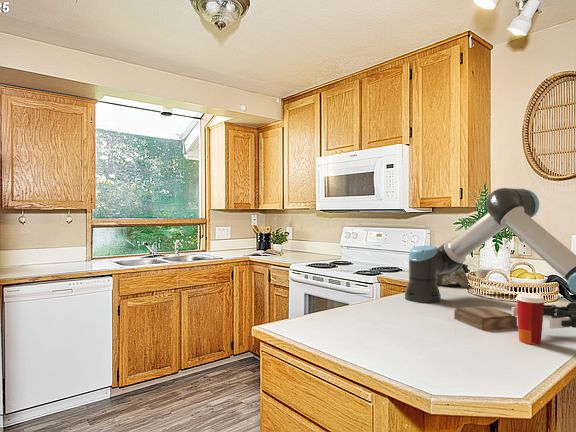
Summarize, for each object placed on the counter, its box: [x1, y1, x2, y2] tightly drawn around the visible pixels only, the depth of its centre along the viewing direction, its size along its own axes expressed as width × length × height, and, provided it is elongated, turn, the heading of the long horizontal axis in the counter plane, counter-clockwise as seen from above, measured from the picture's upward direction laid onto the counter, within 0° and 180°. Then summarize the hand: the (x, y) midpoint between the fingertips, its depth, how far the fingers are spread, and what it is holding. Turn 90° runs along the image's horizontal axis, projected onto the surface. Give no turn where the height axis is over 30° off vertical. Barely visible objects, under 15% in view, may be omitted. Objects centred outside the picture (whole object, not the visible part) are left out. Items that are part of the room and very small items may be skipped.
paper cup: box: [514, 293, 546, 346], centre depth 120 cm, size 8×8×14 cm
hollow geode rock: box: [437, 263, 471, 288], centre depth 209 cm, size 28×13×15 cm
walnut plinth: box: [453, 305, 518, 331], centre depth 140 cm, size 14×14×4 cm
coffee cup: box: [475, 266, 496, 278], centre depth 189 cm, size 9×9×12 cm
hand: (530, 317), depth 119 cm, fingers open, 13 cm apart
